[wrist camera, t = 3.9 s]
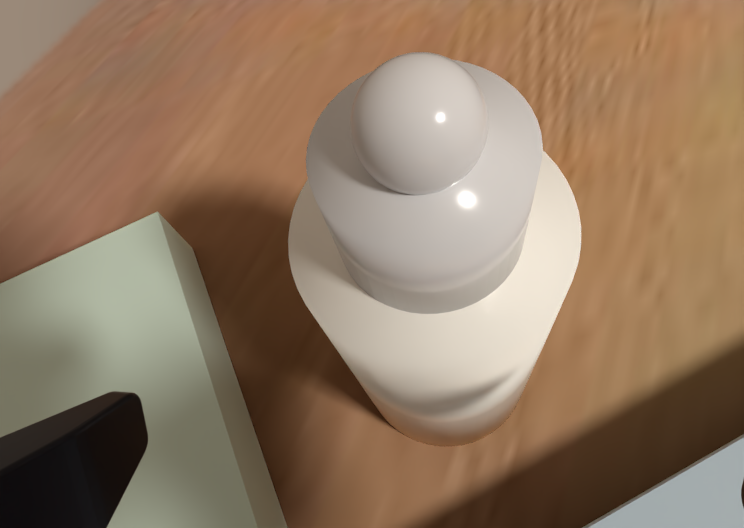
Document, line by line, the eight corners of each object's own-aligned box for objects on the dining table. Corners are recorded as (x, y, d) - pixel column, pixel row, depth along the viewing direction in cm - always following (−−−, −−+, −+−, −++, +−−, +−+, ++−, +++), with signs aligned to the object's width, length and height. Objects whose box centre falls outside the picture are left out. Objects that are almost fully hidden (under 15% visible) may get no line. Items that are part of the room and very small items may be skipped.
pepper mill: (557, 400, 19) (754, 136, 6) (407, 476, 18) (290, 360, 6) (475, 266, 21) (495, -116, 9) (341, 330, 21) (160, 31, 8)
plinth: (292, 541, 18) (262, 543, 15) (-63, 720, 17) (-159, 754, 15) (192, 248, 23) (157, 211, 21) (-82, 375, 23) (-155, 354, 20)
